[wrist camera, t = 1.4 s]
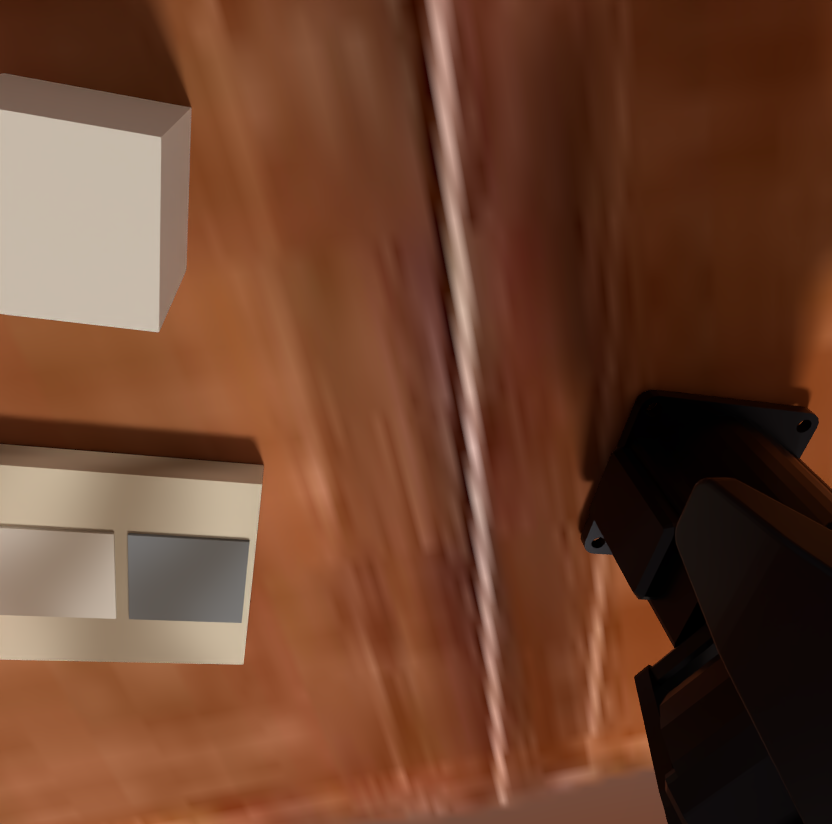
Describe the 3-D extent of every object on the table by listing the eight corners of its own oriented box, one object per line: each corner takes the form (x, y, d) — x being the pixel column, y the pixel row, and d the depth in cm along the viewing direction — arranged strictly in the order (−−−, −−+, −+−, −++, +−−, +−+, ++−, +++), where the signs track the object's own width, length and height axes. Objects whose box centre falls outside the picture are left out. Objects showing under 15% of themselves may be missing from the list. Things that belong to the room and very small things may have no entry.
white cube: (192, 107, 16) (161, 137, 13) (186, 269, 18) (158, 332, 15) (5, 72, 15) (-80, 95, 12) (20, 246, 17) (-49, 307, 14)
